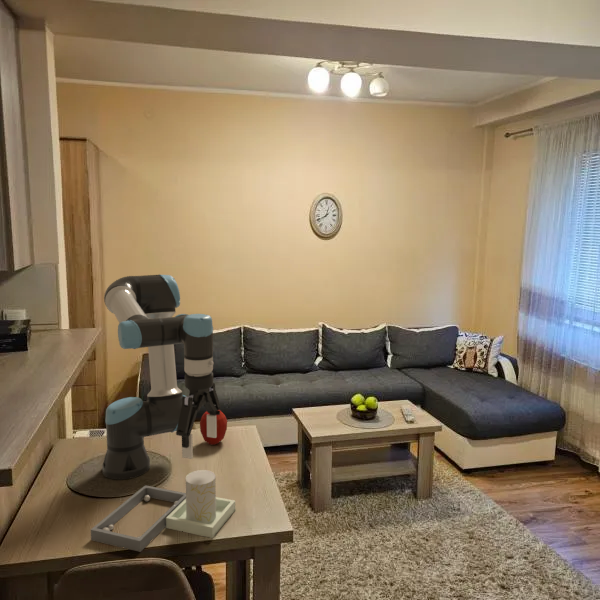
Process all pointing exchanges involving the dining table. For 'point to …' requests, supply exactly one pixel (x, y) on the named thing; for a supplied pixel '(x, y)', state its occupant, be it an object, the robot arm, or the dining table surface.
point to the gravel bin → (103, 528)
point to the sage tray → (180, 523)
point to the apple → (220, 428)
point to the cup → (201, 496)
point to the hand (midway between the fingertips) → (200, 447)
